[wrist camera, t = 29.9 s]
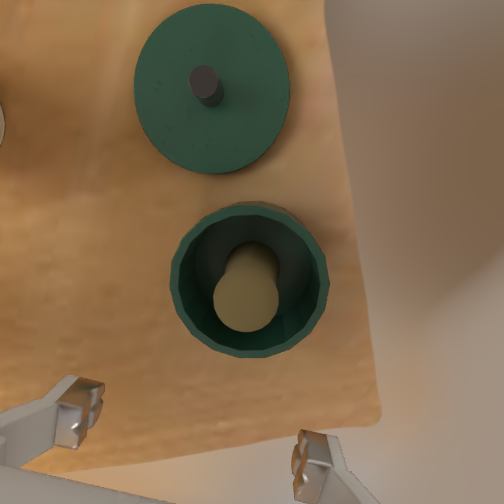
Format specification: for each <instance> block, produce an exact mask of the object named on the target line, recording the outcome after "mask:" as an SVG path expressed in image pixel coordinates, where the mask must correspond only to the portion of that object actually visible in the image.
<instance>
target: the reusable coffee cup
mask: <svg viewBox="0 0 504 504" xmlns="http://www.w3.org/2000/svg"><path fill="white" fill-rule="evenodd" d="M4 131H5V121H4V115H3V111H2V108H1V106H0V145H1V142H2V140H3V136H4Z"/></svg>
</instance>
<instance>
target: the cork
mask: <svg viewBox="0 0 504 504" xmlns="http://www.w3.org/2000/svg"><path fill="white" fill-rule="evenodd" d="M279 274H280V263H279V260H278V258H277V255H276V254H275V253H274V252H273V250H272V249H271V248H269V247H268V246H266V245H265V244H262V243H259V242H245V243H242V244H239V245H237V246H236V247H235V248H234V249H232V250H231V252H230V253H229V255H228V256H227V258H226V262H225V267H224V276H222V278H221V279H220V281H219V282H218V284H217V285H216V288H215V292H214V295H213V299H214V308H215V311H216V313H217V315H218V317H219V318H220V320H221V321H222V322H223V323H224V324H225V325H227V326H228V327H230V328H231V329H233V330H237V331H240V332H253V331H256V330H259V329H261V328H263V327H264V326H266V325H267V324H268V323H269V322H270V321H271V320H272V318H273V317H274V315H275V314H276V311H277V308H278V305H279V299H278V290H277V288H276V283H277V281H278V277H279Z"/></svg>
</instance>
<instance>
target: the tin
mask: <svg viewBox="0 0 504 504" xmlns="http://www.w3.org/2000/svg"><path fill="white" fill-rule="evenodd" d="M245 242H259V243H262V244H265V245H266V246H268V247H269V248H271V249H272V250H273V252H274V253H275V254H276V255H277V258H278V260H279V263H280V274H279V277H278V281H277V283H276V288H277V290H278V299H279V305H278V308H277V311H276V314H275V315H274V317H273V318H272V320H271V321H270V322H269V323H268V324H267V325H266V326H264V327H263V328H261V329H259V330H256V331H253V332H240V331H237V330H233V329H231V328H230V327H228V326H227V325H225V324H224V323H223V322H222V321H221V320H220V318H219V317H218V315H217V313H216V311H215V308H214V299H213V295H214V292H215V288H216V285H217V284H218V282H219V281H220V279H221V278H222V276H224V267H225V262H226V258H227V256H228V255H229V253H230V252H231V250H232V249H234V248H235V247H236V246H237V245H239V244H242V243H245ZM329 285H330V282H329V276H328V271H327V265H326V260H325V256H324V254H323V253H322V251H321V249H320V248H319V246H318V244H317V243H316V241H315V239H314V238H313V236H312V234H311V233H310V232H309V230H308V229H307V228H306V227H305V226H304V225H303V223H302V222H300V221H299V220H298V219H296V218H295V217H294V216H293V215H291V214H290V213H289V212H288V211H286V210H285V209H283V208H280V207H277V206H275V205H272V204H268V203H265V202H261V201H257V202H238V203H235V204H232V205H230V206H227V207H225V208H223V209H220V210H218V211H216V212H214V213H212V214H210V215H208V216H206V217H204V218H203V219H202V220H200V221H199V222H198V223H197V224H196V225H195V226H194V227H193V228H192V229H191V230H190V231H189V232H188V233H187V234H186V235H185V236H184V237H183V238H182V240H181V242H180V245H179V247H178V249H177V251H176V253H175V255H174V257H173V259H172V263H171V275H170V291H171V295H172V298H173V302H174V305H175V309H176V312H177V314H178V316H179V317H180V319H181V320H182V321H183V323H184V324H185V326H186V327H187V328H188V330H189V331H190V333H191V334H192V335H193V336H194V337H196V338H197V339H199V340H200V341H201V342H203V343H204V344H206V345H207V346H208V347H210V348H211V349H212V350H215V351H218V352H221V353H225V354H228V355H231V356H234V357H237V358H266V357H269V356H272V355H275V354H278V353H280V352H283V351H286V350H289V349H291V348H292V347H293V346H295V345H296V344H297V343H298V342H300V341H301V340H302V339H303V338H305V337H306V336H307V335H309V334H310V333H311V332H312V330H313V328H314V327H315V325H316V324H317V322H318V320H319V319H320V317H321V315H322V314H323V312H324V310H325V306H326V301H327V296H328V291H329Z"/></svg>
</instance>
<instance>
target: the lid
mask: <svg viewBox="0 0 504 504" xmlns="http://www.w3.org/2000/svg"><path fill="white" fill-rule="evenodd" d="M289 97H290V84H289V75H288V70H287V66H286V62H285V60H284V57H283V54H282V52H281V50H280V48H279V46H278V44H277V42H276V41H275V39H274V38H273V37H272V35H271V34H270V32H269V31H268V30H267V29H266V28H265V27H264V26H263V25H262V24H261V23H260V22H258V21H257V20H256V19H255V18H253V17H252V16H250V15H248V14H247V13H245V12H243V11H241V10H239V9H236V8H234V7H230V6H226V5H221V4H200V5H196V6H191V7H188V8H185V9H183V10H180V11H178V12H177V13H175V14H173V15H171V16H170V17H169V18H167V19H166V20H165V21H163V22H162V23H161V24H160V25H159V26H158V27H157V28H156V29H155V30H154V32H153V33H152V34H151V35H150V37H149V38H148V40H147V42H146V43H145V45H144V47H143V49H142V51H141V54H140V56H139V59H138V62H137V66H136V70H135V77H134V99H135V105H136V110H137V114H138V117H139V120H140V123H141V125H142V127H143V129H144V131H145V133H146V134H147V136H148V138H149V139H150V141H151V142H152V143H153V145H154V146H155V147H156V148H157V149H158V150H159V151H160V152H161V153H162V154H163V155H164V156H165V157H166V158H168V159H169V160H171V161H172V162H173V163H175V164H177V165H179V166H181V167H183V168H185V169H188V170H190V171H194V172H198V173H204V174H223V173H229V172H232V171H236V170H239V169H241V168H243V167H245V166H248V165H249V164H251V163H252V162H254V161H256V160H257V159H258V158H259V157H260V156H262V155H263V154H264V153H265V152H266V151H267V150H268V148H269V147H270V146H271V145H272V143H273V142H274V141H275V139H276V138H277V136H278V134H279V132H280V130H281V128H282V126H283V123H284V121H285V118H286V114H287V110H288V105H289Z"/></svg>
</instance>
